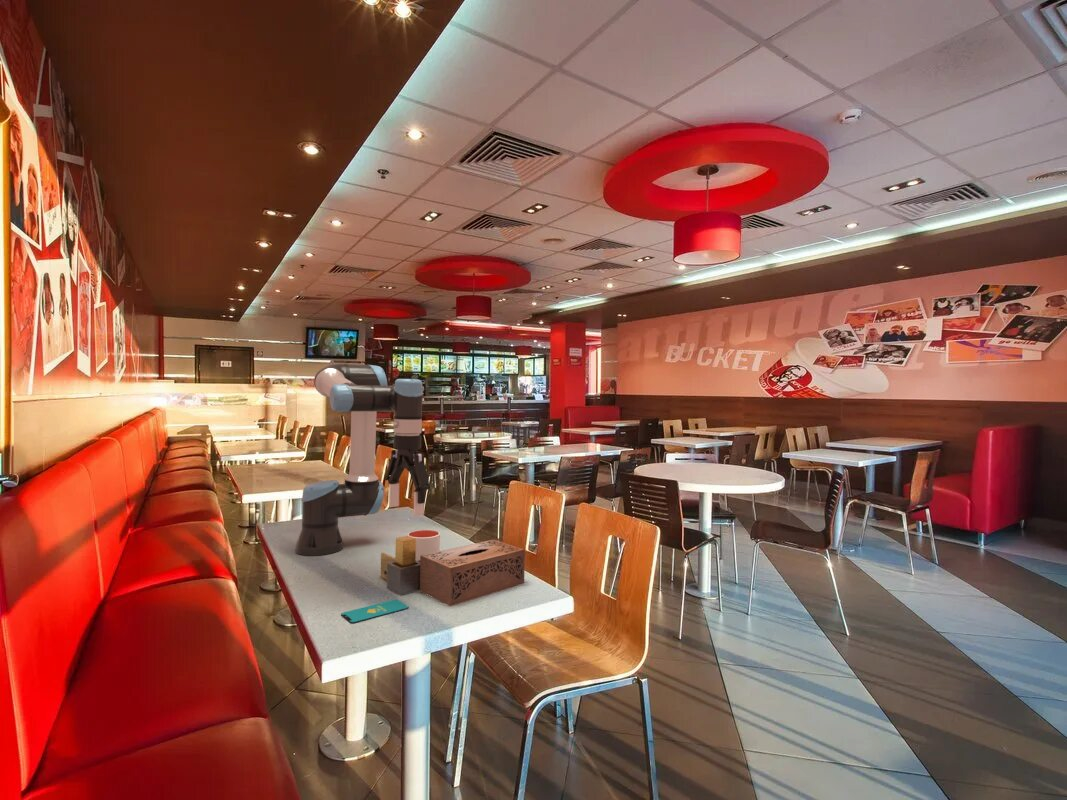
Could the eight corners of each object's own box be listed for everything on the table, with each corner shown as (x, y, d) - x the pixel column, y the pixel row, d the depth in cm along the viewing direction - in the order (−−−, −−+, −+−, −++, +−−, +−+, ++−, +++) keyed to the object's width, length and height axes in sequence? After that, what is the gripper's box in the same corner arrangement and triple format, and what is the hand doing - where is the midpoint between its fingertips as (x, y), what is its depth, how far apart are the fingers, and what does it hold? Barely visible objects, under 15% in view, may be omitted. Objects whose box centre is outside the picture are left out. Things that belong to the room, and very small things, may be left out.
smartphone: (410, 606, 133) (351, 622, 123) (409, 609, 133) (351, 625, 123) (396, 598, 138) (339, 613, 128) (396, 601, 138) (339, 616, 128)
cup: (432, 571, 162) (432, 538, 162) (401, 568, 164) (402, 536, 164) (444, 561, 171) (444, 531, 171) (415, 559, 173) (415, 529, 173)
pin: (395, 577, 146) (395, 538, 146) (407, 574, 149) (408, 535, 149) (402, 581, 144) (402, 540, 144) (415, 578, 146) (415, 538, 146)
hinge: (370, 579, 154) (370, 555, 154) (421, 567, 166) (422, 544, 166) (399, 595, 141) (400, 569, 141) (453, 581, 153) (453, 557, 153)
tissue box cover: (492, 571, 163) (493, 539, 163) (524, 584, 152) (524, 549, 152) (419, 591, 145) (420, 555, 145) (449, 607, 135) (450, 568, 135)
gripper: (374, 431, 153) (372, 504, 153) (419, 438, 135) (417, 521, 135) (397, 431, 158) (396, 501, 158) (444, 437, 140) (442, 517, 140)
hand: (405, 510), depth 147 cm, fingers open, 13 cm apart
